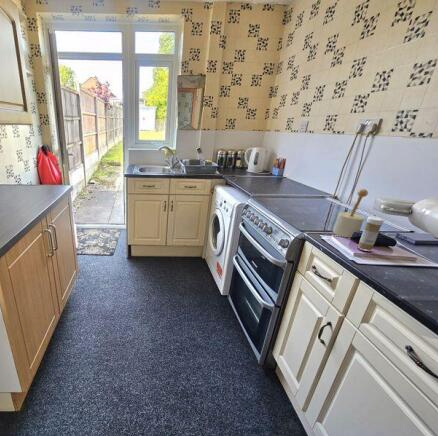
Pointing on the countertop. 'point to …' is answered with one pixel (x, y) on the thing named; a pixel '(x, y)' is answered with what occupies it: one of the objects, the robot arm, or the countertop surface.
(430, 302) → the countertop surface
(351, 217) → the utensil crock
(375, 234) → the sprinkles bottle
